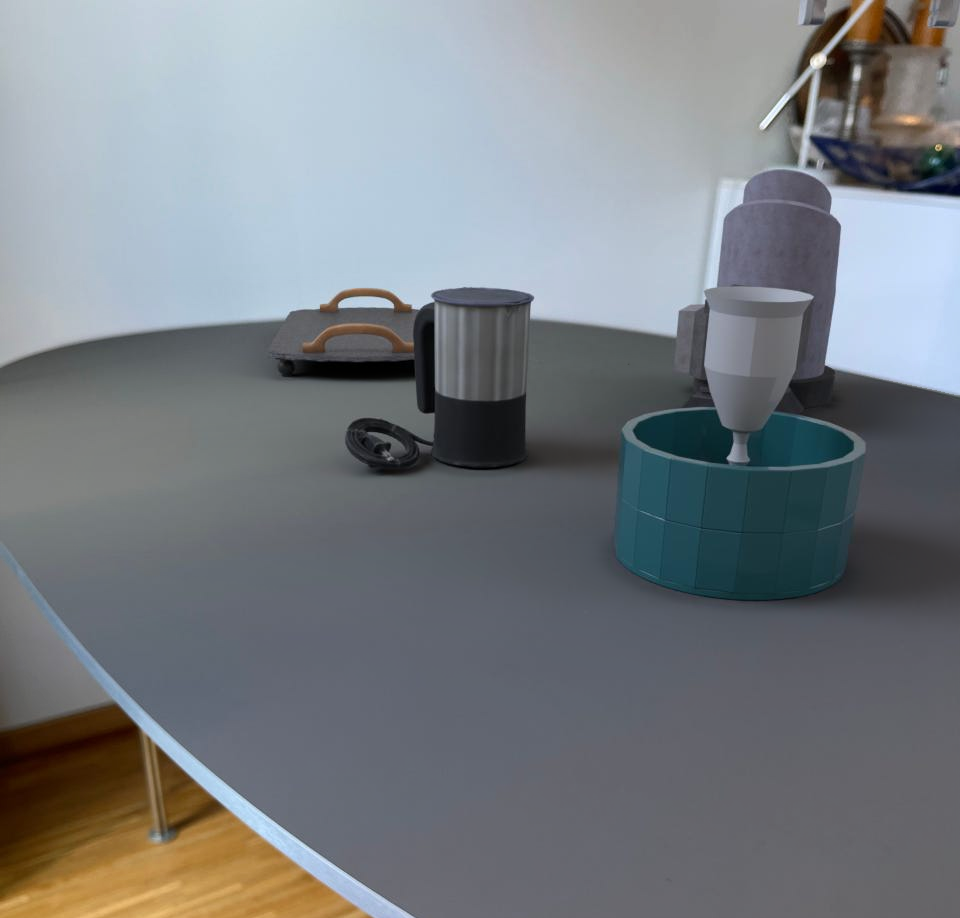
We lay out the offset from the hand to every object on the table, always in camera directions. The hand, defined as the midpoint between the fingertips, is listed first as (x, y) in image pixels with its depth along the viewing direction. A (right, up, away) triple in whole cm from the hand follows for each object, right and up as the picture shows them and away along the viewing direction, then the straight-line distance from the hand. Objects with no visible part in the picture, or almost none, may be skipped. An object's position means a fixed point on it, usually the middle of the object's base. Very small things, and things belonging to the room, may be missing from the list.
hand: (875, 26), depth 77 cm
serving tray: (-44, -5, +70) cm, 83 cm away
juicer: (+3, -17, +45) cm, 48 cm away
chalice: (-10, -38, +2) cm, 39 cm away
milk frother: (-32, -28, +23) cm, 48 cm away
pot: (-10, -38, +2) cm, 39 cm away
